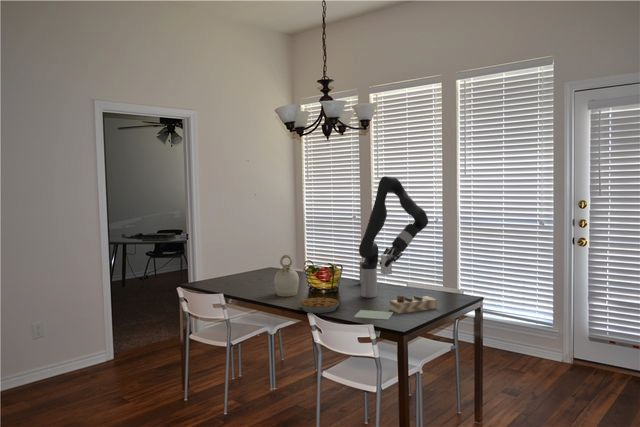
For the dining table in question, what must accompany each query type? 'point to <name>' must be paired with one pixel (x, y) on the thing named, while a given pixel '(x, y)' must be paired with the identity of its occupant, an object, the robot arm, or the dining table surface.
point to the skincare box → (361, 271)
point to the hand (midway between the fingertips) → (383, 265)
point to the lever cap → (384, 269)
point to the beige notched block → (412, 304)
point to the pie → (319, 305)
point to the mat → (373, 314)
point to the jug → (286, 280)
